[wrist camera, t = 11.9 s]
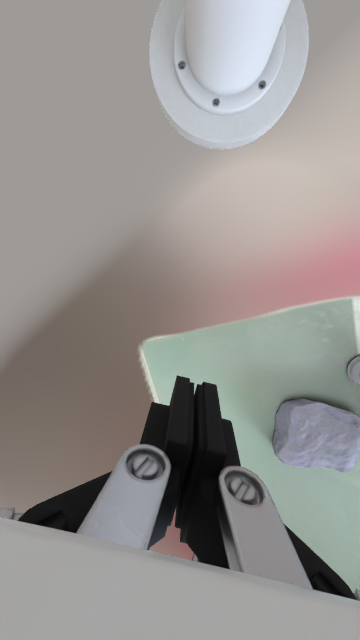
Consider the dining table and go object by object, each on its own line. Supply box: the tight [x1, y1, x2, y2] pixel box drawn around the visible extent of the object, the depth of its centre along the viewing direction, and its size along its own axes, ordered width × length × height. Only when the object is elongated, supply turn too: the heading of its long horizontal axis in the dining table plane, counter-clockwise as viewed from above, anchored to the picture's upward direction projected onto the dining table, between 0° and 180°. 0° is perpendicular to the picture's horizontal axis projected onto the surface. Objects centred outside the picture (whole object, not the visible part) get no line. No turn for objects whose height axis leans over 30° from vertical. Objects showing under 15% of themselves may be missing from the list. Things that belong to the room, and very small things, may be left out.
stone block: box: [273, 398, 360, 472], centre depth 39 cm, size 12×5×10 cm
